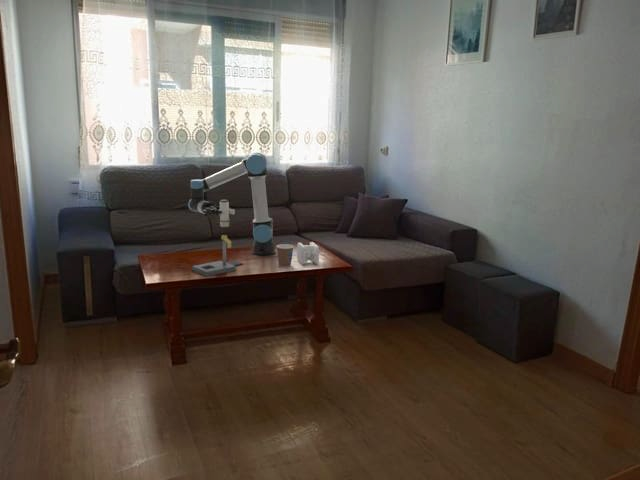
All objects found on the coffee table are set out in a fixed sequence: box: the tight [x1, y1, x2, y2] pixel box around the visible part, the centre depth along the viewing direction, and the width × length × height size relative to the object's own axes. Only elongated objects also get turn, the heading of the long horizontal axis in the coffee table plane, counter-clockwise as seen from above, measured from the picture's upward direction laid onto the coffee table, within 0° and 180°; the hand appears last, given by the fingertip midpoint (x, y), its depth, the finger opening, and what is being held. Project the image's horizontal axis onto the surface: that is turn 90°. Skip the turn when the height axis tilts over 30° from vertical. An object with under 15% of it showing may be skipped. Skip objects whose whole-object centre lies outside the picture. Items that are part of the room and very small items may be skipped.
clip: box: [220, 234, 232, 249], centre depth 285 cm, size 16×3×4 cm, turn 22°
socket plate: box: [191, 240, 237, 277], centre depth 287 cm, size 19×15×17 cm
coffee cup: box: [275, 243, 295, 268], centre depth 302 cm, size 10×10×12 cm
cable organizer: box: [296, 241, 320, 266], centre depth 311 cm, size 15×11×12 cm
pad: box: [226, 260, 244, 267], centre depth 303 cm, size 8×8×1 cm
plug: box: [219, 199, 231, 228], centre depth 292 cm, size 6×6×15 cm
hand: (230, 212), depth 288 cm, fingers closed on plug, 5 cm apart
